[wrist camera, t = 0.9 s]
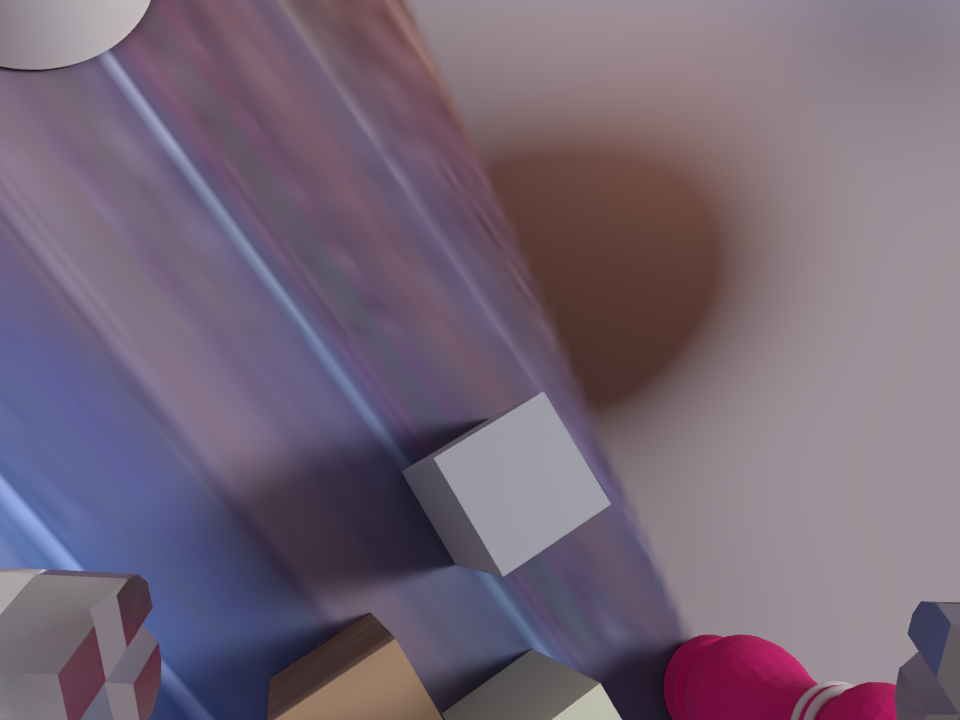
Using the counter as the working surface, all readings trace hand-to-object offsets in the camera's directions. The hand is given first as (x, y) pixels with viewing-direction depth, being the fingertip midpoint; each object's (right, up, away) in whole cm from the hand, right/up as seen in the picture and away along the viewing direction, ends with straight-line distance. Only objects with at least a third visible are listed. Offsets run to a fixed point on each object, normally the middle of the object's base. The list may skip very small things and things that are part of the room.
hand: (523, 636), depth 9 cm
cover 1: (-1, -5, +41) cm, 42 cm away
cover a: (-8, -16, +37) cm, 41 cm away
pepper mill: (+14, -17, +43) cm, 48 cm away
